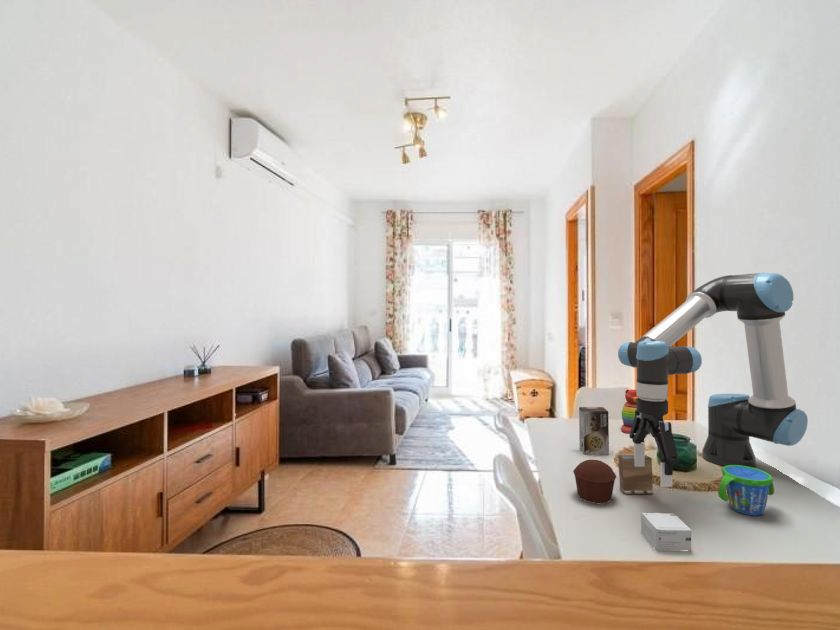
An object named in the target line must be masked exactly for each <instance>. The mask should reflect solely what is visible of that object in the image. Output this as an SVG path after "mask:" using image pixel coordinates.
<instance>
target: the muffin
mask: <svg viewBox="0 0 840 630" xmlns="http://www.w3.org/2000/svg"><path fill="white" fill-rule="evenodd" d="M572 472H573V475H574V478H575V485H576V491H577V495H578V496H580V497H579V499H581V498H582V500H584V501H585V500H586V502H588V503H592V502H594V503H593V504H597V503H600V504H608V503H609V502H608V501H611V500H612V497H613V492H614V491H613V490H614V486H615V481H616V479H617V475H616V473H615V472H614V470H613V469H612V467H611V466H610V465H609V464H607V463H606V462H603V461H602V460H599V459H585V460H583V461H581V462H579V464H578V465H576V466H575V468H574V470H573V471H572Z"/></svg>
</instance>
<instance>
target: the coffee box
mask: <svg viewBox="0 0 840 630" xmlns="http://www.w3.org/2000/svg"><path fill="white" fill-rule="evenodd" d="M578 422H579V424H578V426H579V427H578V429H579V430H578V431H579V436H578V437H579V440H578V441H579V444H578V445H579V450H580V451H581V453H582V452H583V453H582V454H583V455H607V456H608V455H610V435H609V433H610V431H609V426H610V425H609V411H608V410H607V409H606V408H605V407H603V406H579V407H578Z"/></svg>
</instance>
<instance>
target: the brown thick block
mask: <svg viewBox="0 0 840 630" xmlns="http://www.w3.org/2000/svg"><path fill="white" fill-rule="evenodd" d="M618 476H619V477H618V478H619V479H618V481H619V490H620V491H621V492H622V493H624V494H626V495H627V494H628V495H629V494H633V495H634V494H636V495H637V494H641V495H642V494H645V495H646V494H654V485H653V484H654V483H653V482H654V481H653V480H654V479H653V458H652V457H650V456H649V455H646V454H645V467H635V466H634V454H619V455H618Z"/></svg>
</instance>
